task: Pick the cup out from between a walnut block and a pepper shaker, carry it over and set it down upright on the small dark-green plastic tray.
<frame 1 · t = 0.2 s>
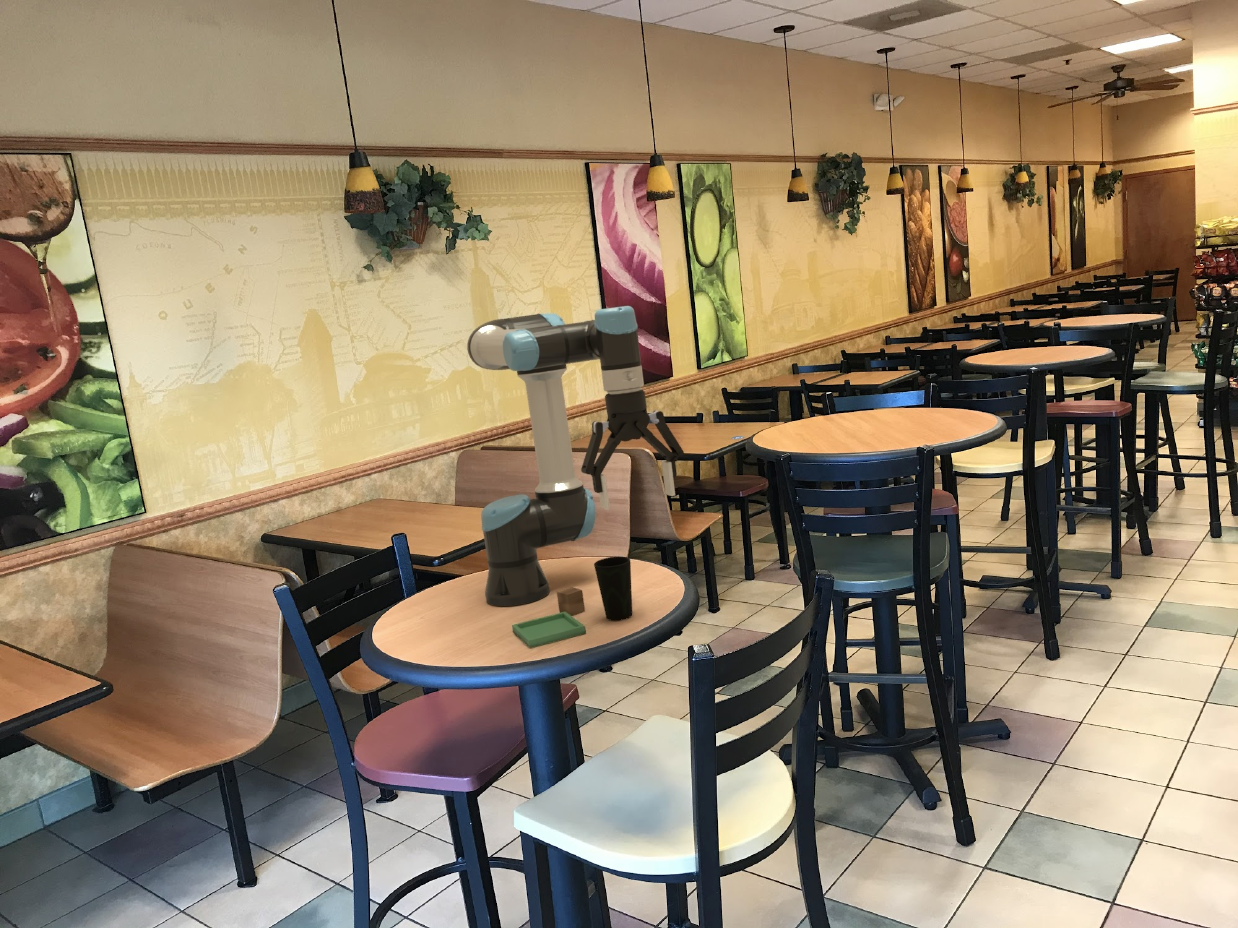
hand: (638, 501, 177), 27 cm above the table, fingers open, 13 cm apart
tray: (548, 632, 193), on the table
walnut block: (572, 612, 204), on the table
cup: (619, 617, 198), on the table
pepper shaker: (621, 602, 206), on the table
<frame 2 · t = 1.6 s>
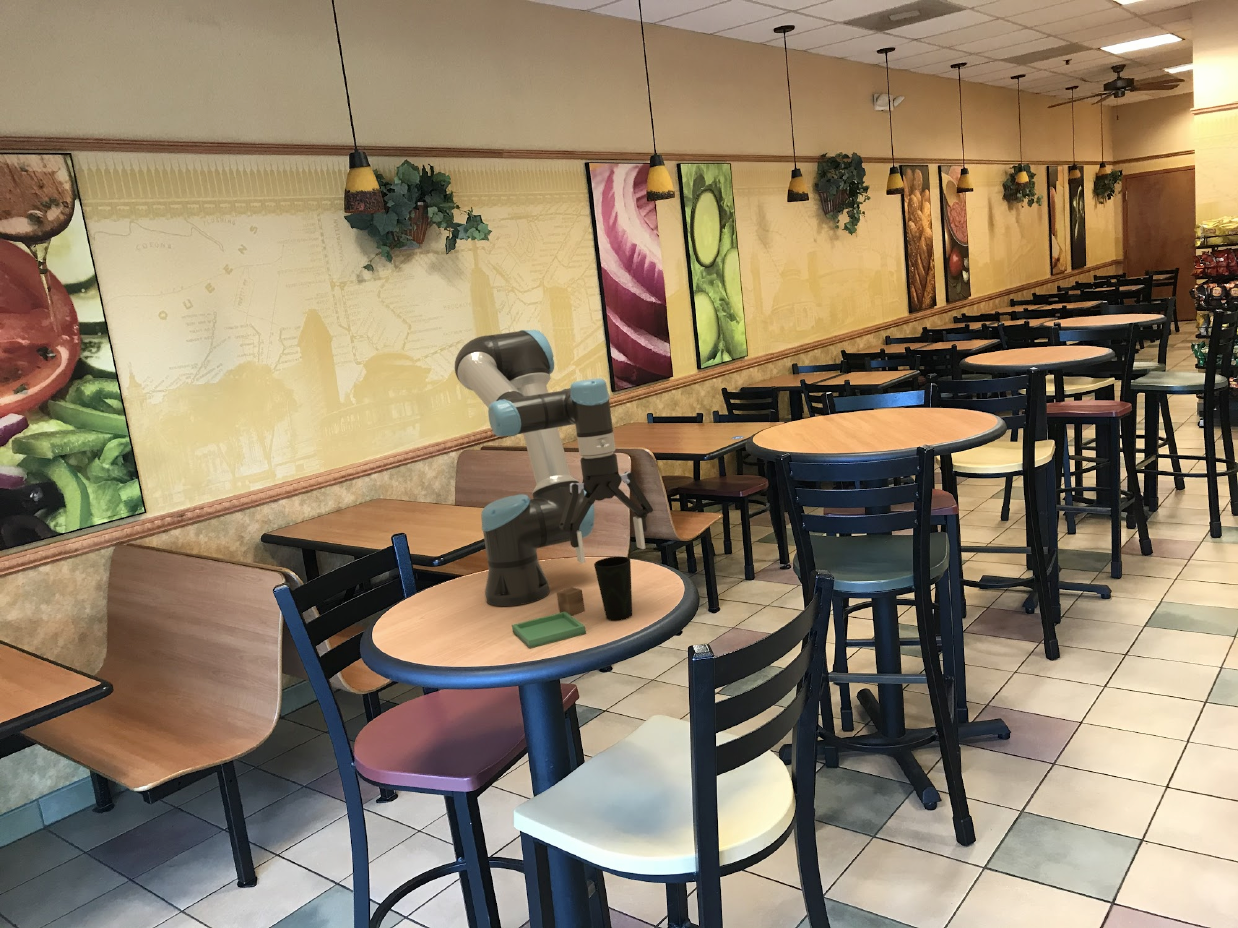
hand: (611, 554, 195), 14 cm above the table, fingers open, 13 cm apart
nothing on the table moved.
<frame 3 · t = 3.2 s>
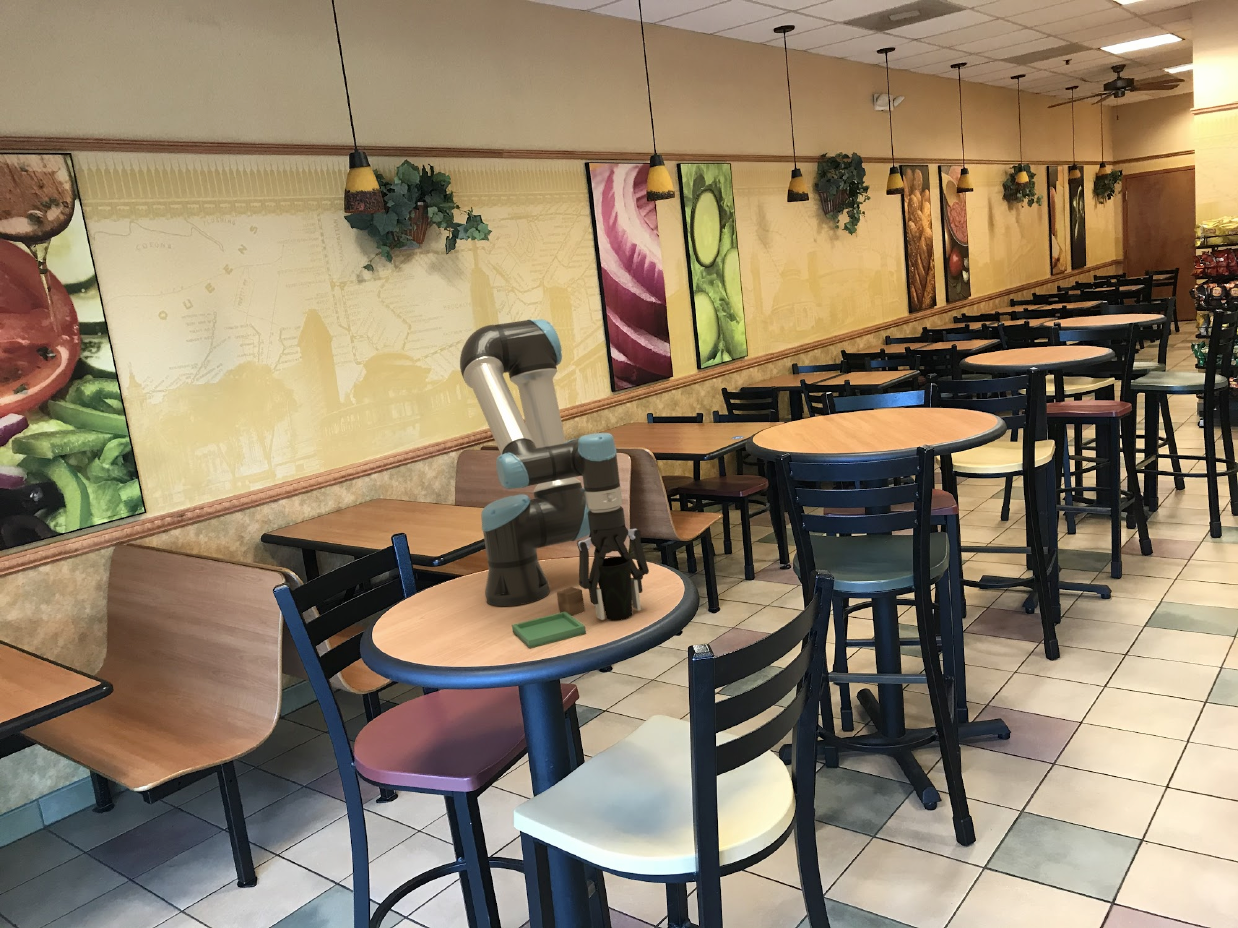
hand: (618, 612, 197), 1 cm above the table, fingers closed on cup, 8 cm apart
cup: (619, 617, 198), on the table, touching gripper
everything else where it was.
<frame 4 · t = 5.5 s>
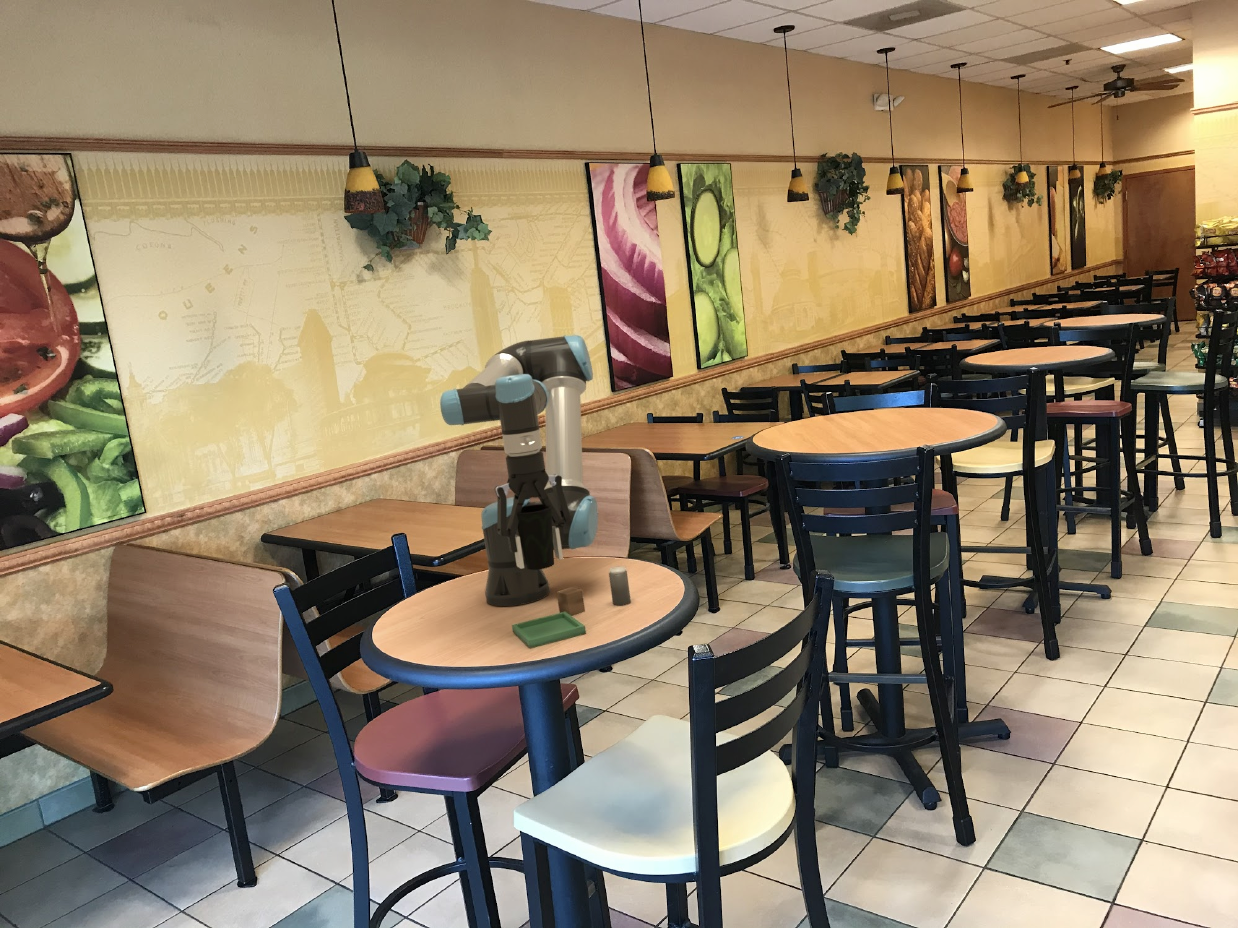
hand: (539, 562, 191), 15 cm above the table, fingers closed on cup, 8 cm apart
cup: (540, 566, 191), point 14 cm above the table, touching gripper
everything else where it was.
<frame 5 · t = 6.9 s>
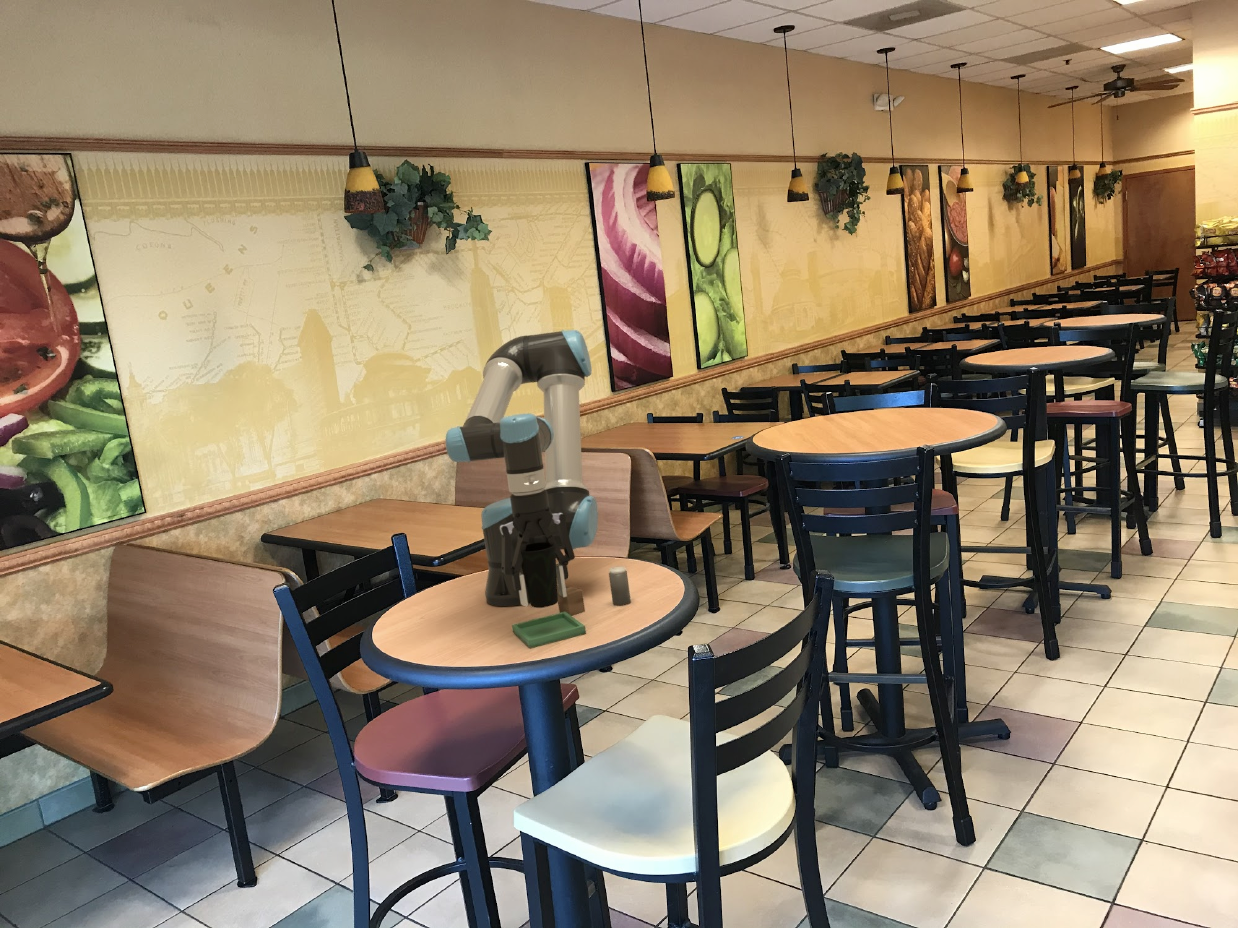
hand: (543, 599, 192), 7 cm above the table, fingers closed on cup, 8 cm apart
cup: (544, 604, 192), point 6 cm above the table, touching gripper
everything else where it was.
when the fingers open (4 cm above the table, at t = 8.0 s): cup drops 2 cm, resting on tray.
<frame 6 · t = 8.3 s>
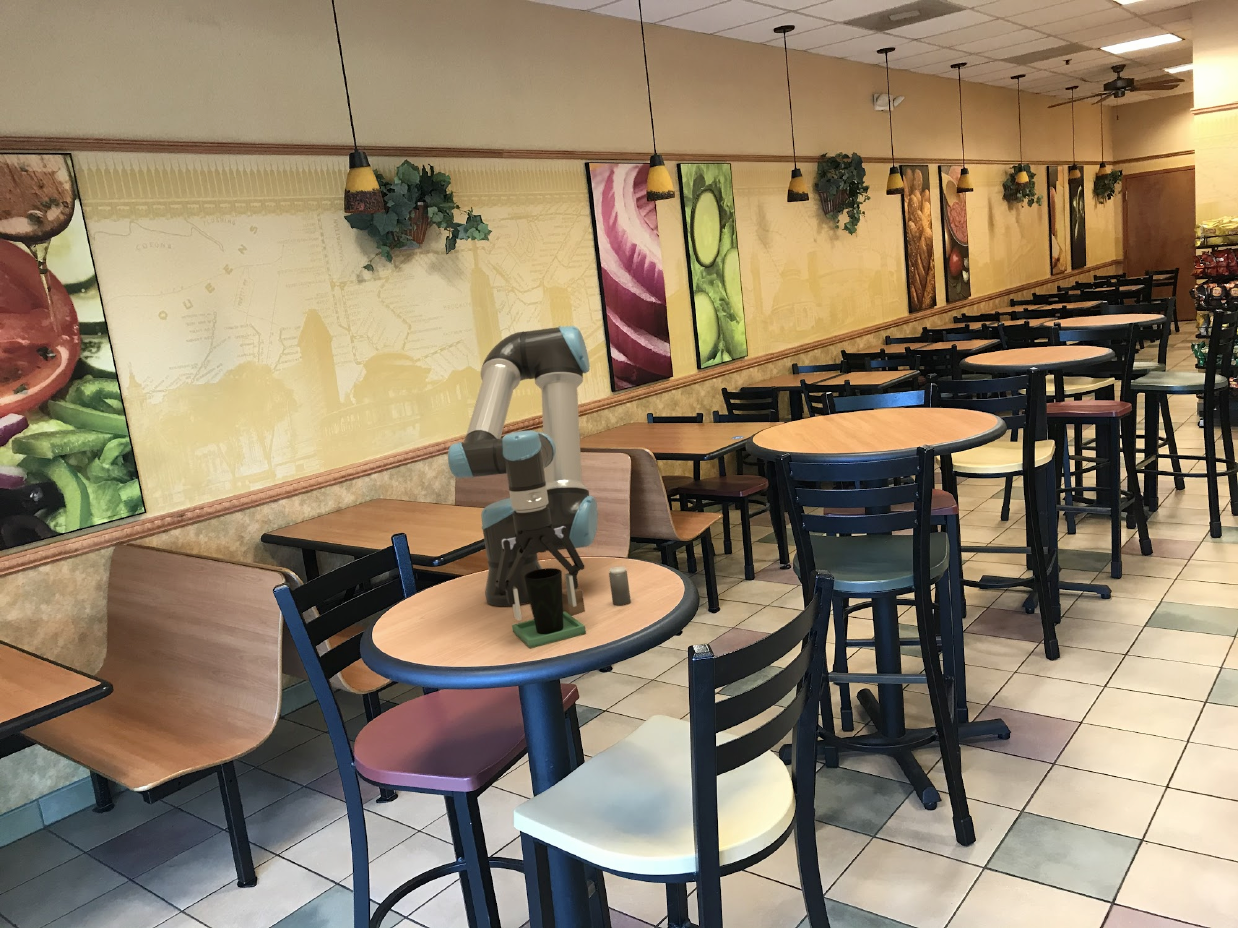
hand: (545, 611, 192), 5 cm above the table, fingers open, 11 cm apart
cup: (550, 630, 193), resting on tray
everything else where it was.
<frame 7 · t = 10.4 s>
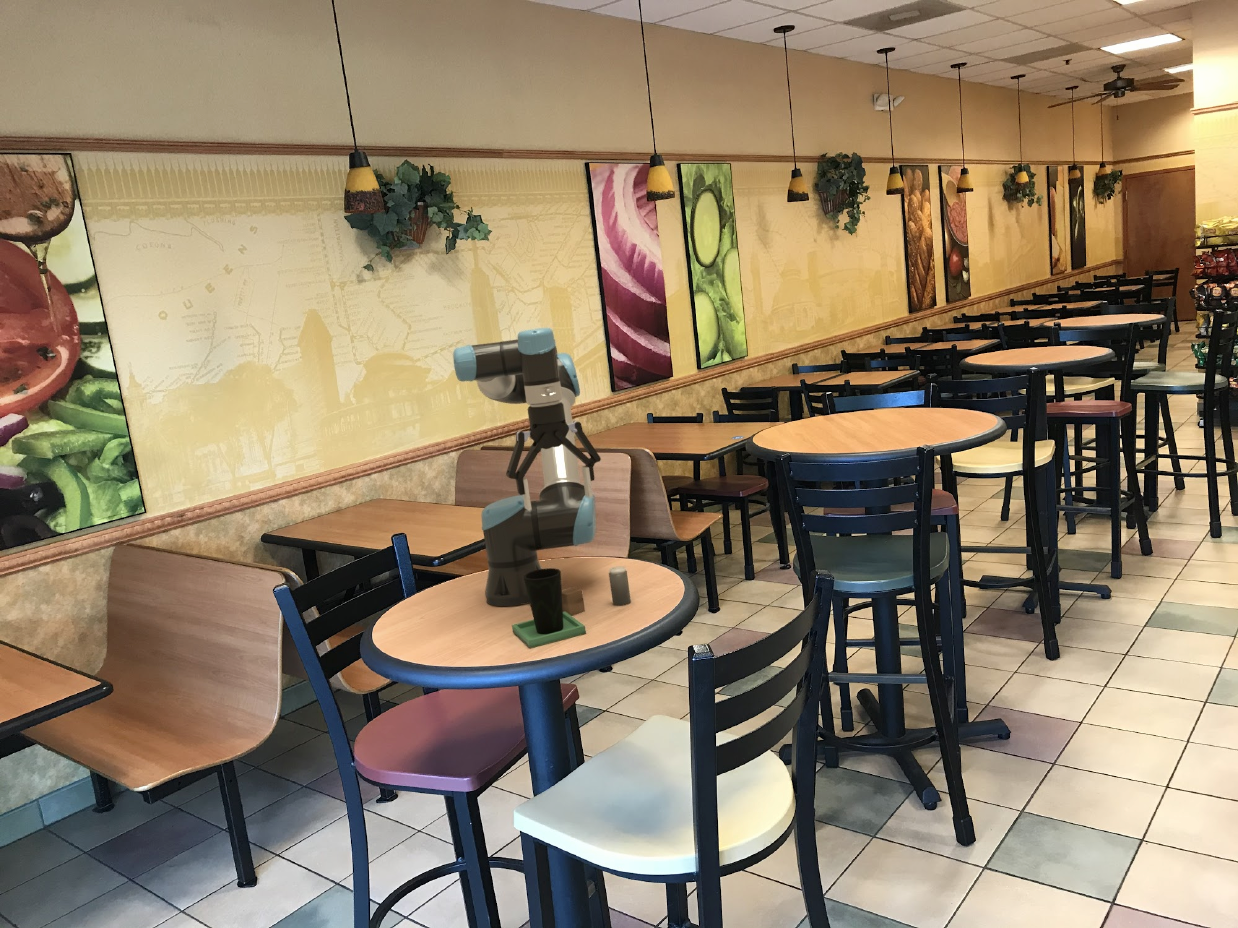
hand: (559, 502, 198), 25 cm above the table, fingers open, 13 cm apart
nothing on the table moved.
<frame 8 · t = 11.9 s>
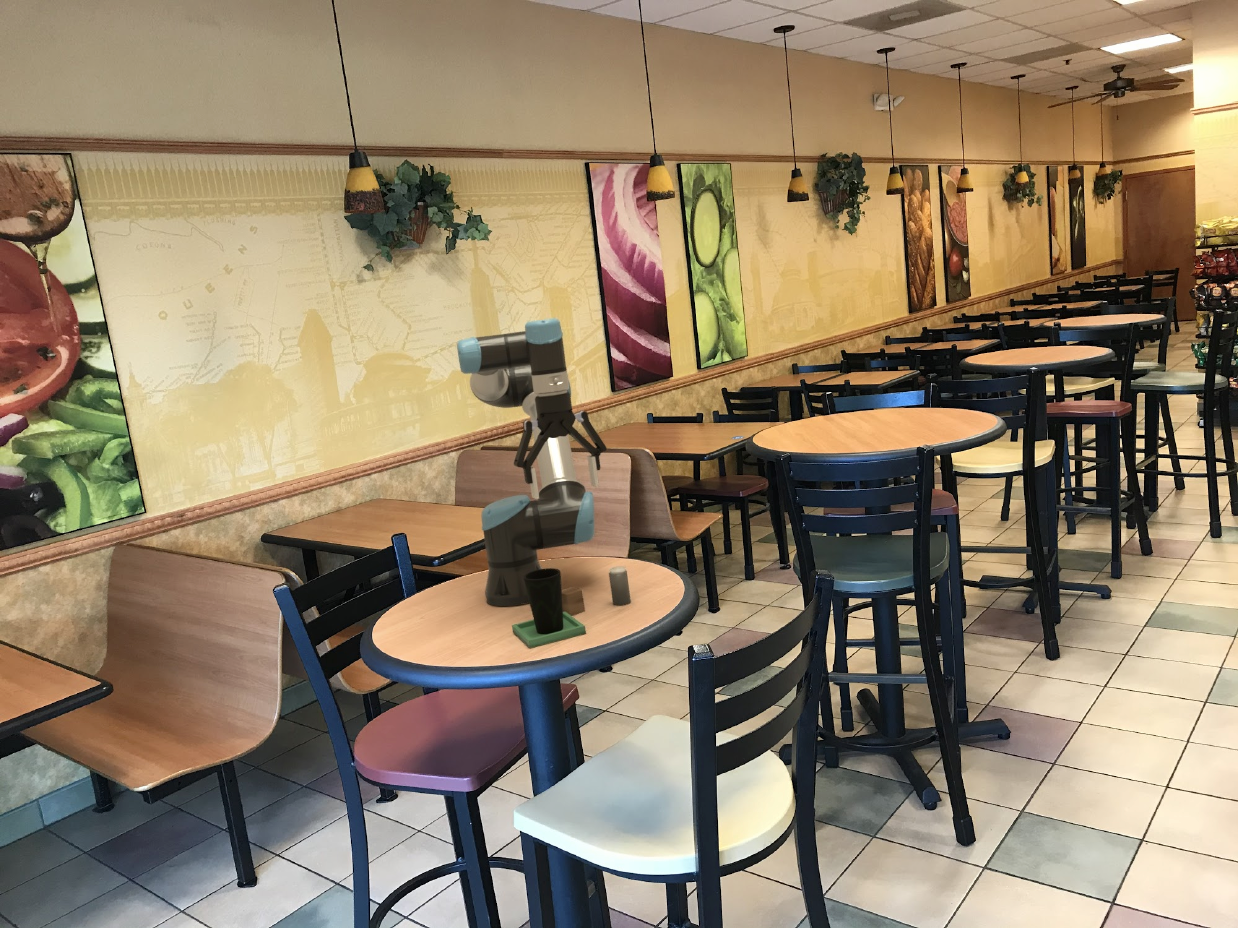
hand: (565, 492, 200), 27 cm above the table, fingers open, 13 cm apart
nothing on the table moved.
at the end: cup inside the target area on the tray (0.4 cm from its centre), point 0.4 cm above the tray's base; cup tilted 0°; the gripper is holding nothing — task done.
